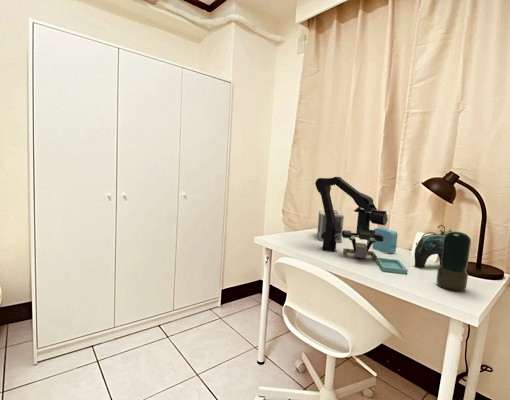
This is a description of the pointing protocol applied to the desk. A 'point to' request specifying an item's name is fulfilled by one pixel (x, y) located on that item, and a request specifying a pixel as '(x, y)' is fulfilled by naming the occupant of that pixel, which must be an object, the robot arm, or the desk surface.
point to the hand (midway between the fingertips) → (360, 252)
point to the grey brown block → (361, 250)
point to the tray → (391, 265)
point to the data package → (386, 240)
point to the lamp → (454, 261)
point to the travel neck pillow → (429, 247)
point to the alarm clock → (322, 224)
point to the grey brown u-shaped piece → (354, 253)
